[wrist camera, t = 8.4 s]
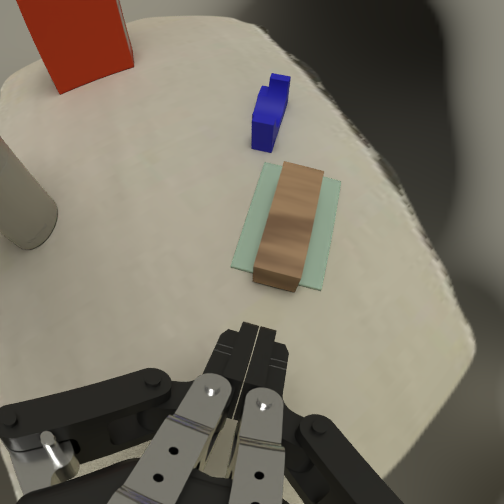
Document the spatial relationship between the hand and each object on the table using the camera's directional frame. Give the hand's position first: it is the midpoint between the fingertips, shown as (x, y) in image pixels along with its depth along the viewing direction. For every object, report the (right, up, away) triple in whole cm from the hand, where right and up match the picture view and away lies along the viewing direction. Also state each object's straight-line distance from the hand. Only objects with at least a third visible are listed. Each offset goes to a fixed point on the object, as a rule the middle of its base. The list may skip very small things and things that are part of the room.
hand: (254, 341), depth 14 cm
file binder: (-34, +43, +42) cm, 69 cm away
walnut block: (+2, +1, +21) cm, 21 cm away
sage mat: (+5, +8, +27) cm, 29 cm away
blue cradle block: (+2, +24, +35) cm, 42 cm away
